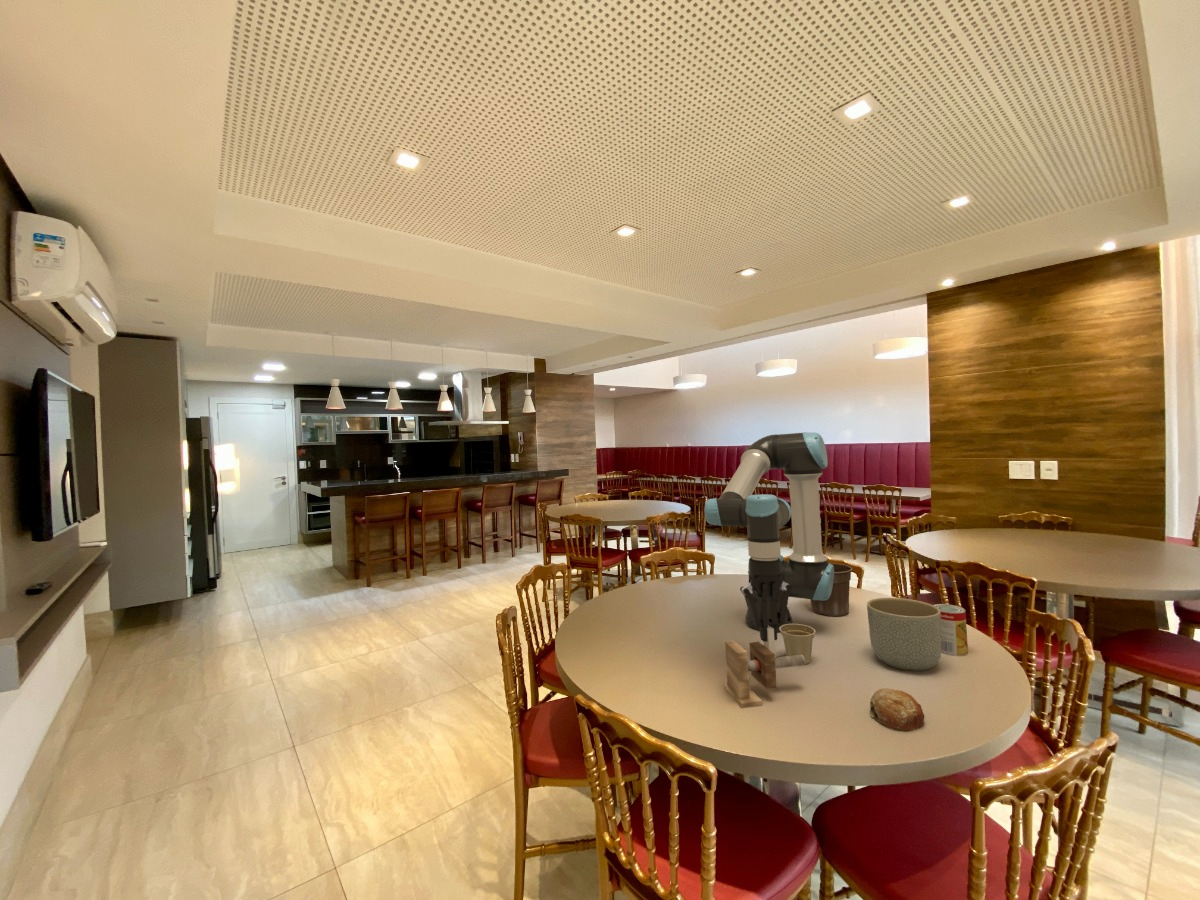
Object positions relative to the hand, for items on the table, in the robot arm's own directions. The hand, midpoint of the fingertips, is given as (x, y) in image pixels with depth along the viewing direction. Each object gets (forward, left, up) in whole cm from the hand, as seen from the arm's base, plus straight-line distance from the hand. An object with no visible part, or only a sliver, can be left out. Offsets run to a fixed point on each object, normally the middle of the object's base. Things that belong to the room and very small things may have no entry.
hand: (769, 653), depth 118 cm
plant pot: (-50, -50, -10) cm, 71 cm away
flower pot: (-16, -15, -10) cm, 24 cm away
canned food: (-60, -10, -10) cm, 62 cm away
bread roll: (-20, +17, -10) cm, 28 cm away
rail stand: (+1, 0, -10) cm, 10 cm away
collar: (+2, 0, -7) cm, 7 cm away
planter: (-42, -6, -10) cm, 44 cm away
